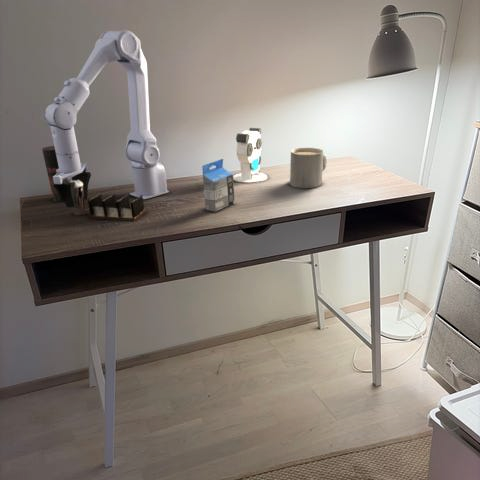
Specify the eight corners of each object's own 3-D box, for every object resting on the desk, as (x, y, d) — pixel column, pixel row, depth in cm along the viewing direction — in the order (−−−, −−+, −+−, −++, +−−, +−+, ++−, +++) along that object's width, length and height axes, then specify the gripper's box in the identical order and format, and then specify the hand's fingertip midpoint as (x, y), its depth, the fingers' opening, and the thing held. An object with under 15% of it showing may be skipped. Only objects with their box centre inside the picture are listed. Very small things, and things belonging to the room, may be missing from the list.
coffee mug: (301, 189, 156) (302, 156, 151) (284, 182, 163) (284, 150, 158) (336, 183, 161) (339, 150, 156) (318, 176, 169) (320, 144, 164)
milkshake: (80, 209, 146) (73, 174, 141) (91, 212, 143) (85, 176, 138) (66, 213, 143) (59, 177, 138) (78, 217, 140) (70, 180, 135)
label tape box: (215, 212, 140) (213, 167, 134) (204, 209, 142) (201, 165, 136) (235, 203, 146) (233, 160, 140) (224, 201, 148) (222, 158, 142)
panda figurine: (258, 184, 162) (257, 135, 155) (226, 181, 167) (224, 133, 159) (272, 175, 171) (272, 128, 164) (242, 172, 176) (240, 126, 168)
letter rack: (90, 218, 139) (87, 200, 136) (102, 210, 145) (99, 192, 142) (134, 221, 136) (131, 202, 134) (145, 212, 142) (142, 194, 139)
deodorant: (69, 201, 153) (58, 150, 145) (50, 201, 153) (38, 150, 145) (76, 195, 158) (66, 145, 150) (57, 195, 158) (46, 145, 150)
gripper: (68, 146, 142) (77, 194, 149) (38, 158, 130) (49, 210, 137) (91, 147, 140) (99, 195, 147) (62, 159, 128) (73, 211, 135)
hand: (77, 203), depth 142 cm, fingers open, 6 cm apart
